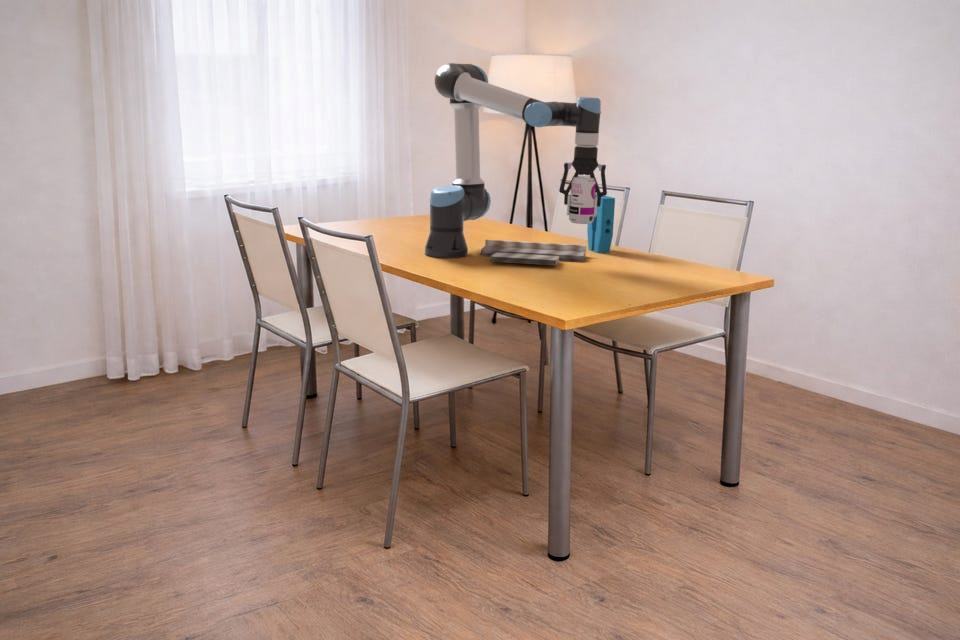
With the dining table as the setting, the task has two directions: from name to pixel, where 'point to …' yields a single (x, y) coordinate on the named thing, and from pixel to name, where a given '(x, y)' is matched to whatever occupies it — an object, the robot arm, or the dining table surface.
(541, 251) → the floorboard
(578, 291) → the dining table surface
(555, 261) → the plank
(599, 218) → the block
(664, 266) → the dining table surface
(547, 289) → the dining table surface
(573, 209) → the supplement can
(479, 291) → the dining table surface
